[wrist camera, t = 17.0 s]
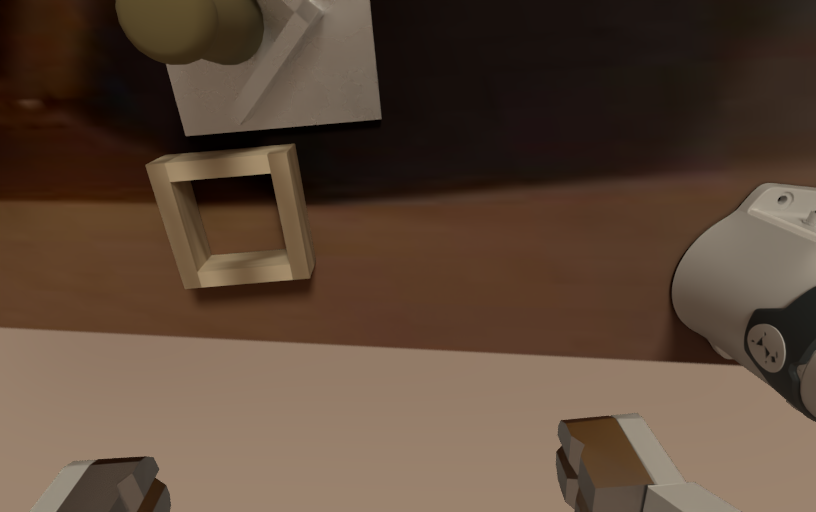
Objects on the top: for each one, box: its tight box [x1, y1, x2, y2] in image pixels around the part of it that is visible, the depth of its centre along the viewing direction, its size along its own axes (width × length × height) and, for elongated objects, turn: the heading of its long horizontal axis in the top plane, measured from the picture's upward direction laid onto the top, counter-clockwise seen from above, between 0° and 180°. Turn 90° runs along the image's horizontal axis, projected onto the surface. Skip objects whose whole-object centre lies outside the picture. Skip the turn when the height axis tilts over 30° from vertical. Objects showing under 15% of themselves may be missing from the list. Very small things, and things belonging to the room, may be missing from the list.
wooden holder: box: [145, 144, 316, 289], centre depth 40 cm, size 11×11×4 cm
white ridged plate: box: [166, 0, 382, 136], centre depth 34 cm, size 16×16×4 cm
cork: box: [116, 0, 264, 65], centre depth 30 cm, size 6×6×11 cm
